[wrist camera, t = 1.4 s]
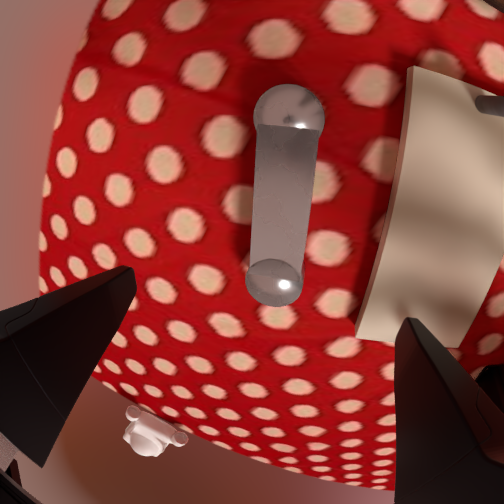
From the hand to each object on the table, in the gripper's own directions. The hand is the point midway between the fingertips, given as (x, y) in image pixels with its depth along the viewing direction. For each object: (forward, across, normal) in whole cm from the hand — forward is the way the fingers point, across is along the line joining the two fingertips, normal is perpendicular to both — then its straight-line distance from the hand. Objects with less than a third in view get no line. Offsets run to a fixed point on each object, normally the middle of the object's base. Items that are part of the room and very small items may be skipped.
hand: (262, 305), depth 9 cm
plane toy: (+13, +19, +45) cm, 50 cm away
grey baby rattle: (+12, +1, +1) cm, 13 cm away
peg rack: (+12, -11, 0) cm, 17 cm away
